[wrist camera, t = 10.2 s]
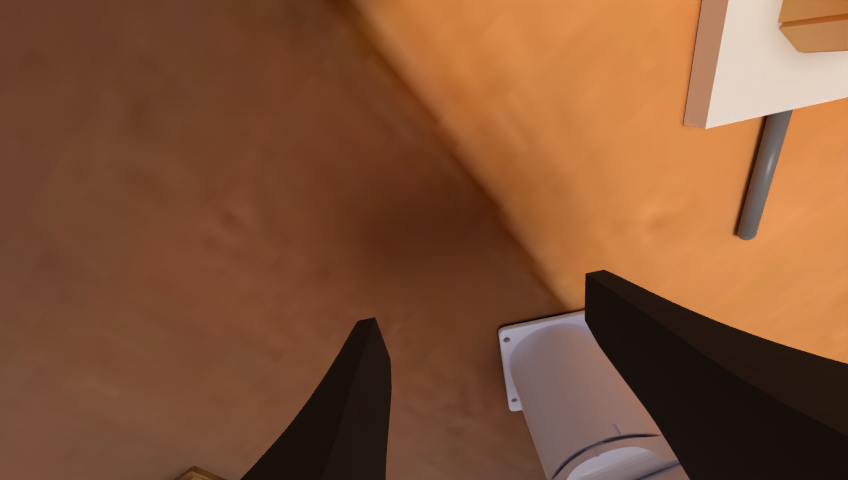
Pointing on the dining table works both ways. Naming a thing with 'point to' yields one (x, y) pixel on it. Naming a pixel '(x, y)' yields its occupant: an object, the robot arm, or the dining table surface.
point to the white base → (756, 83)
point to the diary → (198, 475)
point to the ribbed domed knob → (815, 24)
